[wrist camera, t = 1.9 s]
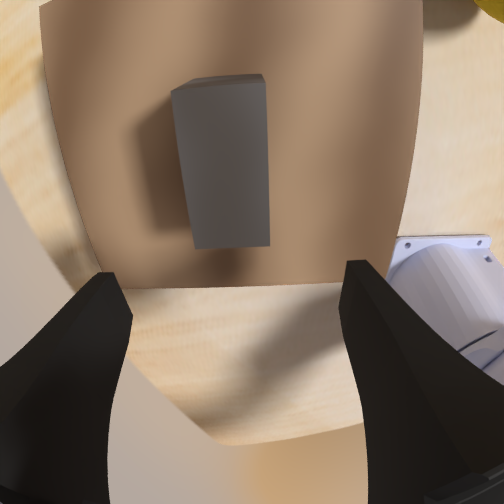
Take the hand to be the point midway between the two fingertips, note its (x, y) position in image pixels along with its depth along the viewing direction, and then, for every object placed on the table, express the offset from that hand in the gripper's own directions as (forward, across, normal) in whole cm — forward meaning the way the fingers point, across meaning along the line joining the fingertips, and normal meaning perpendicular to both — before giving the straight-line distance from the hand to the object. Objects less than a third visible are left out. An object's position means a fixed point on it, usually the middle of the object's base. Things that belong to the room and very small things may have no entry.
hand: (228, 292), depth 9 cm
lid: (+6, 0, -3) cm, 6 cm away
